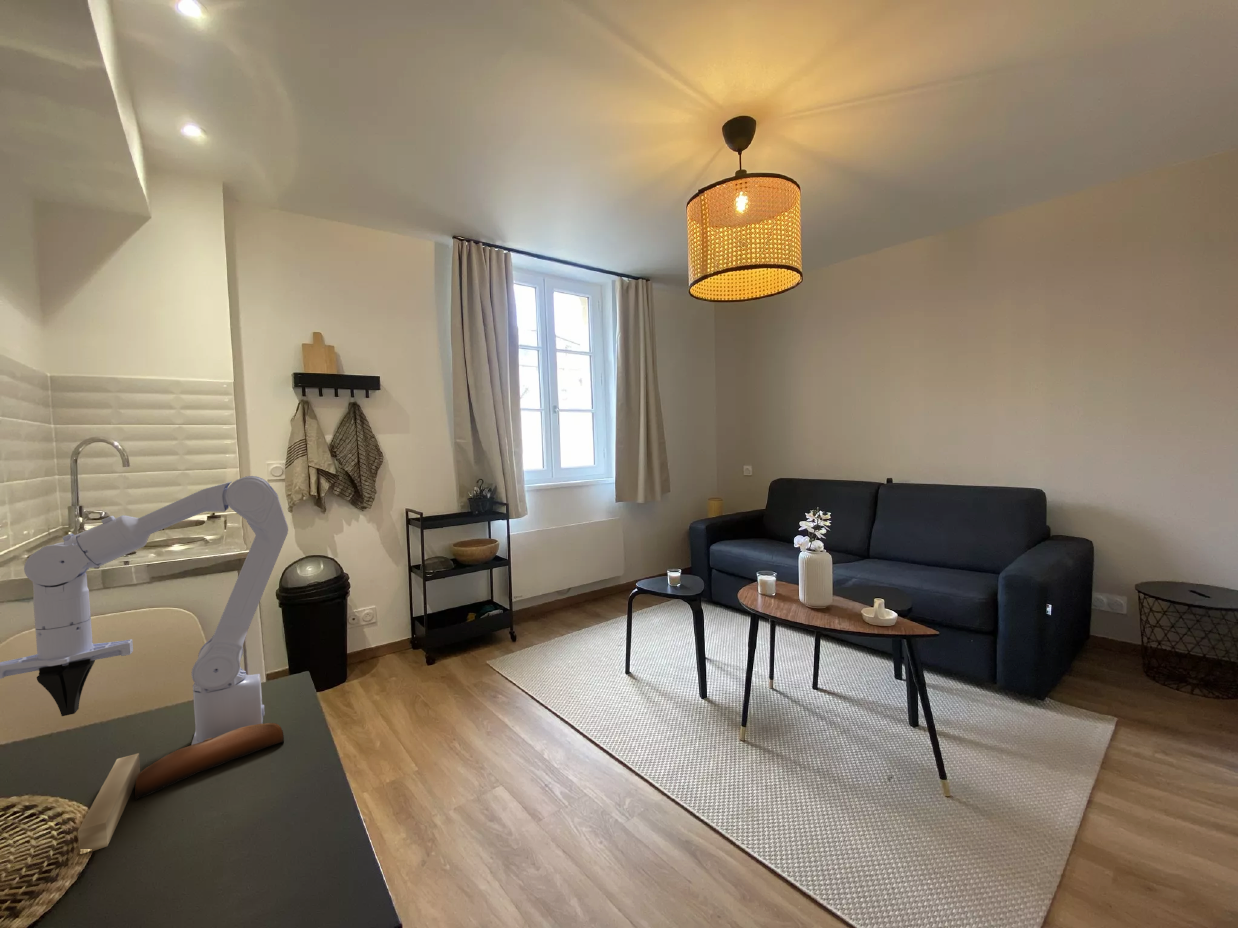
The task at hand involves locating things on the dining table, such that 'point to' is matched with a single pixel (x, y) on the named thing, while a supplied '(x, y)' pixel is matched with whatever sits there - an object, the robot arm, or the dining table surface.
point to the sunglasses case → (206, 756)
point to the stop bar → (109, 804)
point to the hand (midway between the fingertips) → (70, 712)
